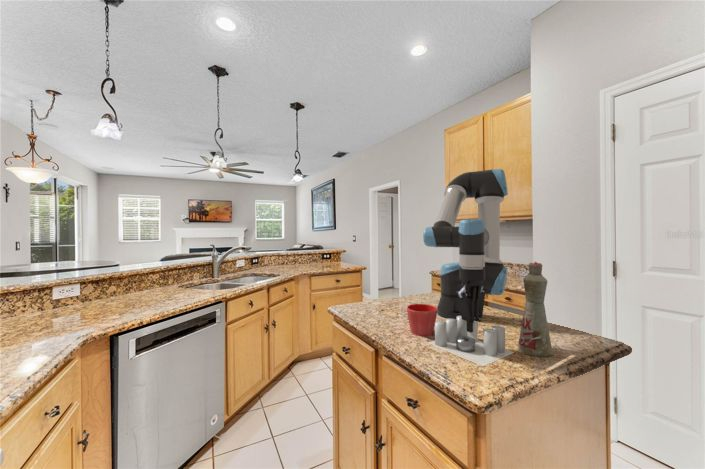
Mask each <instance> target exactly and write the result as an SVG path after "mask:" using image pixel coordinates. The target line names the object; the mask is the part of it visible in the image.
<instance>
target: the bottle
mask: <svg viewBox="0 0 705 469" xmlns="http://www.w3.org/2000/svg"><path fill="white" fill-rule="evenodd" d="M528 267H529V268H528V274H526V275H525V276H524V277H523V280H522V281H523V287H524V294H525V300H526V301H525V303H524V308H523V314H522V315H523V316H522V319H521V320H522V321H521V327H520V332H519V339H518V343H517V348H518V350H519V351H520V352H522V353H523V354H526V355H527V356H528V355H529V356H532V357H537V358H548V357H551V356H552V355H553V354H554V352H553V347H552V346H553V345H552V342H551V337H550V331H549V325H548V320H547V319H548V318H547V314H546V308H545V303H544V302H545V297H546V293H547V292H546V291H547V286H548V279H547V278H545V276H544V275H543V274H542V271H543V264H542V263H540V262H537V261H534V262H529V263H528Z"/></svg>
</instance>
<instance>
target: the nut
mask: <svg viewBox="0 0 705 469" xmlns="http://www.w3.org/2000/svg"><path fill="white" fill-rule="evenodd" d="M456 349H457V350H459V351H462V352H467V353H471V352H474V351H475V339H474V338H471V337H468V336H458V337H456Z"/></svg>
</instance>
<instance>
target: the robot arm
mask: <svg viewBox="0 0 705 469" xmlns="http://www.w3.org/2000/svg"><path fill="white" fill-rule="evenodd" d="M506 178H507V177H506V172H505V171H504V170H503V169H501V168H498V169H497V168H495V169H486V170H485V169H484V170H476V171H467V172H464V173H461V174H459V175H458V176H456V177H454V179H452V180H451V181H450V182H449V183H448V184H447V186H446V188H445V189H444V192H443V193H444V194H443V196H444V197H443V198H444V199H443V201H442V202H441V203H442V204H441V205H440V208H439V211H438V213H437V216H436V219H435V221H434V224H433V226H430V227H429V226H427V227H425V228H424V229H423V236H422V238H423V243H424V245H425V246H426V247H433V248H458V250H459V251H458V254H459V256H458V258H459V261H458V262H449V263H444V264H442V266H440V267H441V268H440V274H439V276H440V298H439V300H438V304H437V307H436V308H437V315H438V316H440V317H443V318H446V319H449V318H451V319H456V317H457V316H461V317H462V320H465V321H466V322H467V336H468V337H471V338H474V339H475V343H477V342H478V340H479V339H478V338H479V337H478V328H479V327H478V326H479V323H480V322H482V319H483V314H484V307H485V299H486V295H488V296H502V295H503V294H504V292H505V289H506V284H507V281H508V280H507V279H508V268H507V267H505V266H504V265H505V264H504V262H503V261H502V260H501V258H500V254H501V253H500V250H501V249H500V243H501V242H500V241H501V238H500V236H501V235H500V233H501V232H500V231H501V230H500V228H501V220H500V219H501V203H503V201H504V200H505V197H506V196H508V194H509V193H508V192H509V191H508V184H507V179H506ZM469 198H470V199H472V198H473V199H474V202H475V203H476V204H477V205H478V206H477V211H478V212H477V218H475V219H472V218H471V219H470V218H469V219H462V220H460V221H459V224H458V226H455V225H456V222H457V219H458V216H459V213H460V211H461V208H462V207H461V206H462V203H463V202H465V200H466V199H469ZM456 320H457V319H456ZM478 322H479V323H478Z"/></svg>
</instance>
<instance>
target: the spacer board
mask: <svg viewBox="0 0 705 469" xmlns="http://www.w3.org/2000/svg"><path fill="white" fill-rule="evenodd" d="M482 333H483V339H482V340H483V341H482V340H479V339H478V342H477V343H475V351H474V352H471V353H467V352H462V351H459V350H457V349H456V337H458V336H467V322H466V321H465V320H462V317H461V316H457V317H456V319H451V318H446V319H445V321H441V320H439V321H437V320H436V322H435V326H434V340H431V341H428V342H427V344H429V345H431V346H434V347H437V348H439V349H441V350H444V351H445V352H448V353H450V354H453V355H455V356H457V357H460V358H462V359H465V360H467V361H470V363H471V362H472V363H473V364H477V365H479V366H480V367H485V366H488V365H490V364H491V363H495V362H496V361H500V360H501V359H503V358H505V357H508V356H510V355H512V354H514V353H515V352H514V351H512V350H508V349H506V328H505V327H504V326H500V325H493V326H491V328H483V332H482Z"/></svg>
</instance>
